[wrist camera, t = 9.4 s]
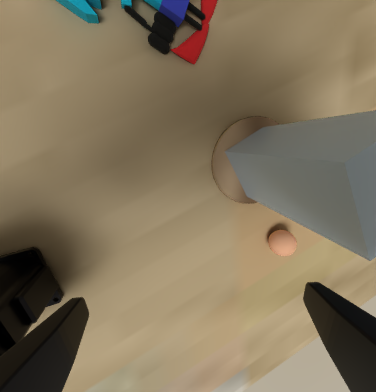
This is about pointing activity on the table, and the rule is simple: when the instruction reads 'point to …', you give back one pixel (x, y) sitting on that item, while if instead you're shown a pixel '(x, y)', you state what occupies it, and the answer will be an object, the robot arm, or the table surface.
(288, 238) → the ball
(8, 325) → the robot arm
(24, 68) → the table surface
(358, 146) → the pale blue box
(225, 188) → the coaster
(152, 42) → the toy figure
